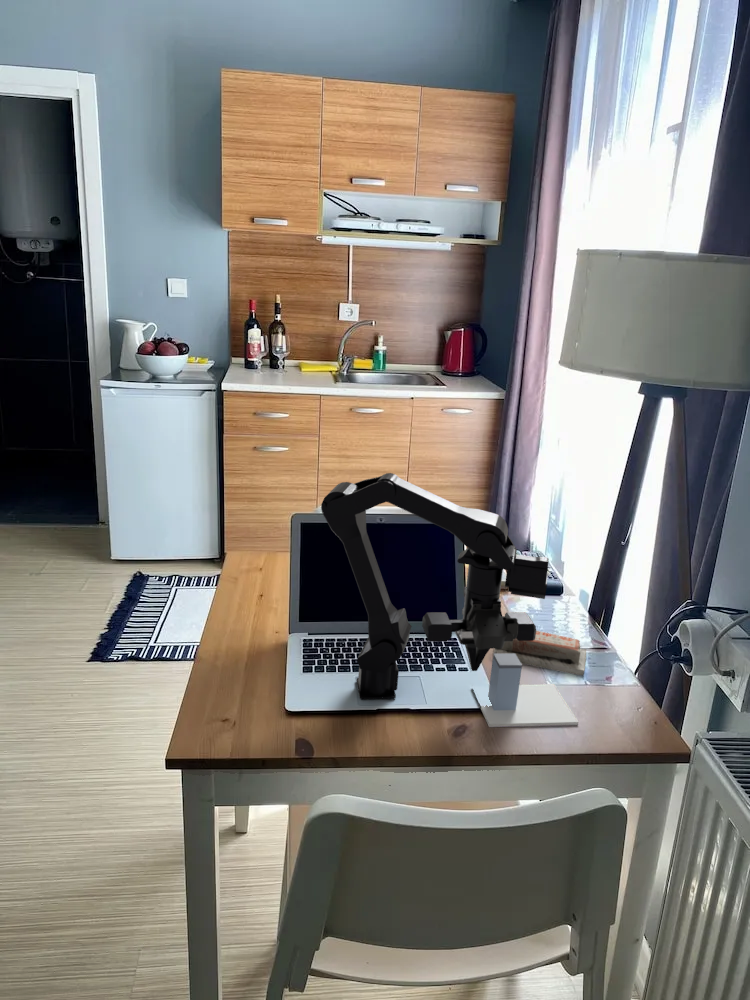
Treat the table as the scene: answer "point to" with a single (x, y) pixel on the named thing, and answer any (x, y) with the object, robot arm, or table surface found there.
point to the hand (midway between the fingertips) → (473, 669)
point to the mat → (533, 709)
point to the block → (504, 681)
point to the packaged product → (549, 652)
